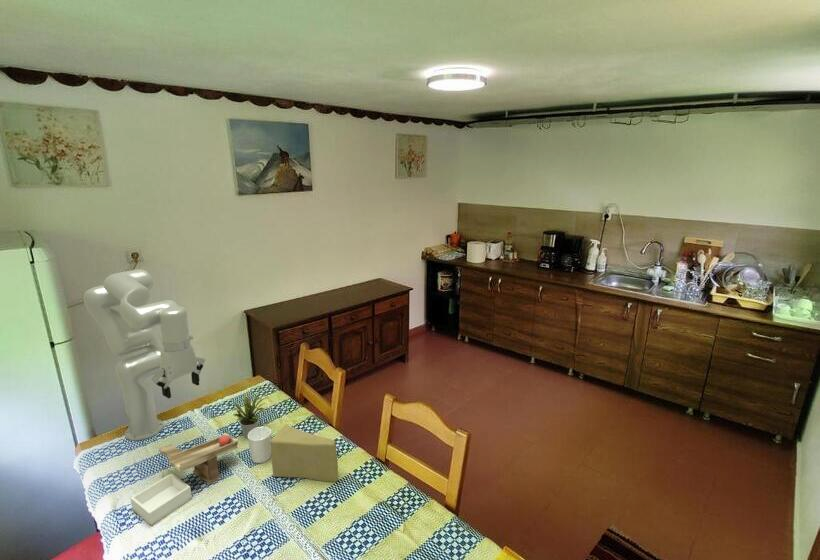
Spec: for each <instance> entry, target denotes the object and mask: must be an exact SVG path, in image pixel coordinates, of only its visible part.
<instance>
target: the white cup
mask: <svg viewBox="0 0 820 560" xmlns="http://www.w3.org/2000/svg"><path fill="white" fill-rule="evenodd" d="M271 439H272V429H271V428H270V427H268V426H258V427H257V428H254V429H252V430H251V431H250V432H249V433H248V438H247V441H248V447H249V453H250V457H251V461H252V462H253V463H256V464H261V463H266V462H267V461H268V460H269V459H271V458H272V456H271Z"/></svg>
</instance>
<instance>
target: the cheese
mask: <svg viewBox="0 0 820 560" xmlns="http://www.w3.org/2000/svg"><path fill="white" fill-rule="evenodd" d="M338 460H339V459H338V453H337V446H336V442H335V440H334V439H330V438H327V437H325V436H321V435H316V434H313V433H309V432H306V431H303V430H301V429H299V428H296V427H293V426H291V425H289V424H285V425H284V426H282V427H281V428H280V429H279V431H277V432H276V433H275V434H274V435H273V437H271V469H272V476H273V477H279V478H280V477H281V478H297V479H298V478H300V479H302V478H303V479H309V480H315V481H322V482H331V483H335V482H338V479H339V464H338V463H339V462H338Z"/></svg>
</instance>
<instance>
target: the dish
mask: <svg viewBox="0 0 820 560" xmlns="http://www.w3.org/2000/svg"><path fill="white" fill-rule="evenodd" d="M191 489H192V488H191V486H190V485H189V484H187V483H186V482H184V481H183V480H181V479H180V478H179V477H177V476H176V475H174V474H173V473H169V474H167V475H165V477H163V478H161V479H159V480H158V481H156V482H154V483H152V484H151V485H149V486H147V487H146V488H144V489H143V490H141V491H139V492H138V493H136V494H135V495H132V496H131V497H130V503H131V508H132V511H133V512H134V513H136V514H137V515H138V516H139V517H141V518H142V519H143V520H144V521H145V522H146V523H147V524H148V525H150V526H151V527H152V526H154V525H155V524H156V523H158V522H160V521H161V520H162V519H164V518H165V517H168V515H170V514H171V513H173V512H174V511H176V510H177V509H179V508H180V507H181V506H183V505H184V504H186V503H187V502H189V501H190V500H192V498H193V496H192V490H191Z"/></svg>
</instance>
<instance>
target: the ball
mask: <svg viewBox="0 0 820 560" xmlns="http://www.w3.org/2000/svg"><path fill="white" fill-rule="evenodd" d="M220 436H221V437H220ZM220 436H219V437H220V438H219V444H220V445H221V446H225V445H227V444H228V443H229V441H230V439H229V437H228V436H227V435H223V436H222V435H220Z"/></svg>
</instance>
